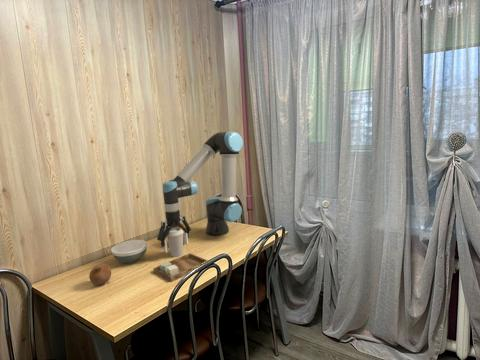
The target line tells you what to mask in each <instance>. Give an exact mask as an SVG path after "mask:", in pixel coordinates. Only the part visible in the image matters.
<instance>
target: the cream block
mask: <svg viewBox="0 0 480 360" xmlns="http://www.w3.org/2000/svg"><path fill="white" fill-rule="evenodd" d="M167 274H168V275H170V276H174V275H176V274H179V272H178V267H177V266H175V265H172V266H169V267H167Z"/></svg>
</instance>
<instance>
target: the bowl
mask: <svg viewBox="0 0 480 360" xmlns="http://www.w3.org/2000/svg"><path fill="white" fill-rule="evenodd" d="M147 246H148V242H147V241H146V240H143V239H130V240H126V241H121V242H119V243H117V244H115V245H113V246H112V247H111V249H110V252H111V253H112V256H113V258H114V259H115V261H118V262H120V263H123V264H126V265H127V264H128V265H129V264H133V263H137V262H138V261H140V260H141V259H142V258H143V257H144V256H145V254H146V252H147Z"/></svg>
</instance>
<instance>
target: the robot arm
mask: <svg viewBox="0 0 480 360" xmlns="http://www.w3.org/2000/svg"><path fill="white" fill-rule="evenodd" d="M243 143H244V141H243V138H242V136H241V135H240V134H239V133H238V132H235V131H220V132H219V131H218V132H216V133H214V134H213V135H211V136H210V137H209V138H208V139H207V140H206V141H205V142H204V143H203V145H202V148H201V149H200V150H199V151H198V152H197V153H196V155H195V156H193V158H191V160H190V161H189V162H188V163H187V164H186V165H185V167H183V169H181V171H180V172H179V173H178V174H177V175H176V176H175V177H174V178H173V179H169V180H168V181H165V182H162V194H163V203H164V211H165V212H164V213H165V219H166V220H165V221H160V228H159V230H158V231H159V232H158V235H157V237H156V240H157V241H159V242H160V245H161V247H162V249H163V252H164V253H167V254H168V245H167V244H168V243H167V240H166V239H167V235H168V233H169V231H170V230H171V228H174V227H177V226H179V227H180V228H182V230H183V231H184V233H183V234H184V244H183V245H189V233H190V232H191V231H192V228H191V226H190V224H189V223H188V221H187V219H186V216H183V215H181V213H180V211H181V210H180V204H179V203H180V202H179V199H181V198H187V197H189V196H190V197H191V196H194V195H196V194H198V191H199V188H198V183H197V182H196V181H191V180H192V179H193V178H194V176H196V174H197V173H198V172H199V171H200V170H201V169H202V168H203V166H205V164H206V163H207V162H208V161H209V160H210V158H211V157H215V155H216V154H218V153H219V155H220V157H221V196H215V197H211V198H207V199H206V200H205V207H206V210H205V211H206V218H207V222H206V227H205V234H206V235H207V236H210V237H211V236H212V237H219V236H223V235H225V234H226V235H227V234H228V233H229V232H230V228H229V225H228V223H234V222H237V221H238V220H239V218H240V217H241V215H242V210H243V209H242V206H241V205H240V204H239V198H238V197H237V196H236V195H237V191H236V190H237V189H236V188H237V157H238V156H239V154H240V151H241V150H242V148H243V145H244V144H243ZM181 222H182V223H181ZM182 224H184V225H185V227H186V228H185V227H184V226H183V225H182Z"/></svg>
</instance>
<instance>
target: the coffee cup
mask: <svg viewBox="0 0 480 360" xmlns="http://www.w3.org/2000/svg"><path fill="white" fill-rule="evenodd" d="M183 233H184V232H183V230H182V228H180V227H174V228H171V230H170V231H169V233H168V235H167V237H166V239H167V242H168V243H167V244H168V246H169V247H168V248H169V251H170V256H171V257H172V258H179V257H182V256H184V244H183Z"/></svg>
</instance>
